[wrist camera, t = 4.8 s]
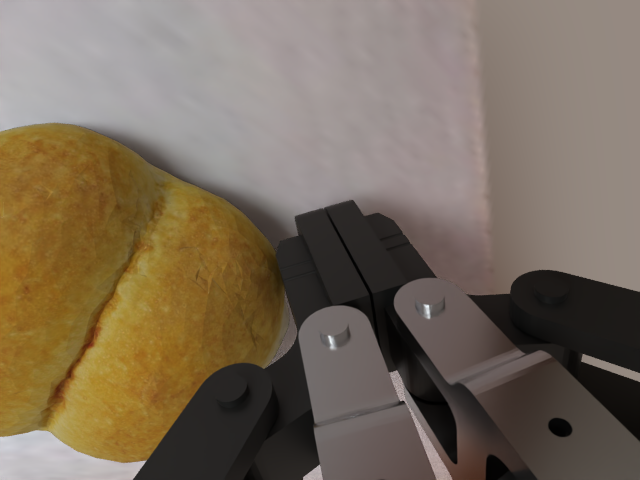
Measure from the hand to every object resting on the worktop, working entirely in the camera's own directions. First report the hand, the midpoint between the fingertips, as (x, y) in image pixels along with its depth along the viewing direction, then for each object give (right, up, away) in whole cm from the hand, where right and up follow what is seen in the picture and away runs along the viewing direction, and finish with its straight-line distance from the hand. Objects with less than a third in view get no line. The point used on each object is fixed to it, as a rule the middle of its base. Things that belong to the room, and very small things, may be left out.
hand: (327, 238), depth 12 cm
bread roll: (-6, -1, +1) cm, 6 cm away
